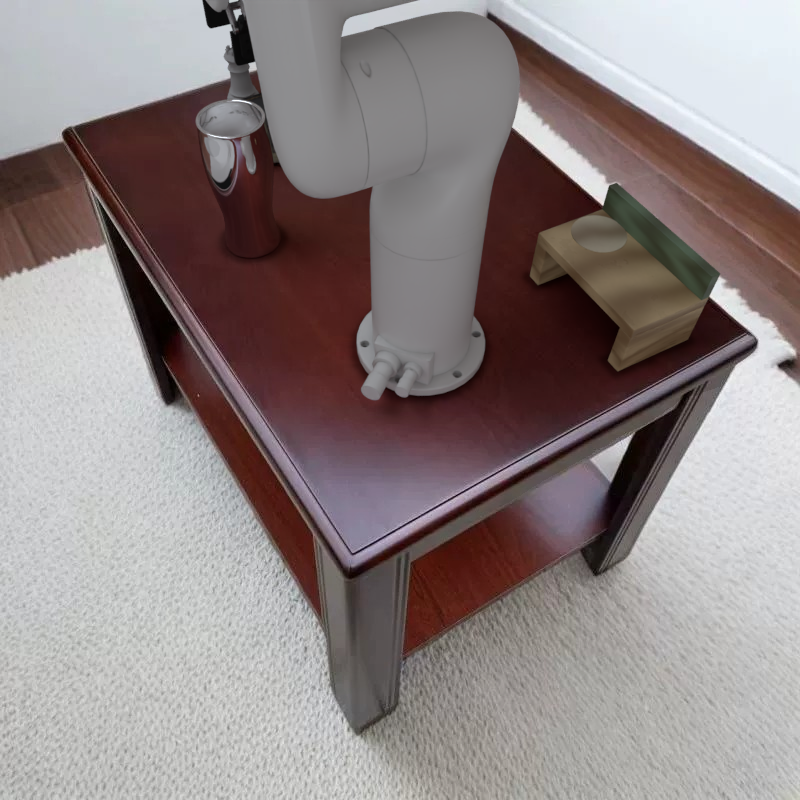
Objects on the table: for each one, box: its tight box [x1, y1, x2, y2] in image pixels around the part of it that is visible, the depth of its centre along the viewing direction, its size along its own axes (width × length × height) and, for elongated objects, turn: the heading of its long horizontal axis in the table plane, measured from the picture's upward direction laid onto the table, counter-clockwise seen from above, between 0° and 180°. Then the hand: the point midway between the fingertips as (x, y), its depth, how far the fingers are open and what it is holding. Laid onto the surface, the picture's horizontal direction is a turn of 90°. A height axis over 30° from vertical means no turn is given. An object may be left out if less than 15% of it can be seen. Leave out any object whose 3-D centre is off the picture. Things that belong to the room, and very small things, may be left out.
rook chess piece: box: [223, 43, 260, 100], centre depth 94 cm, size 4×4×8 cm
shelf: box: [529, 182, 721, 372], centre depth 72 cm, size 15×9×9 cm, turn 28°
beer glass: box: [195, 98, 281, 259], centre depth 75 cm, size 7×7×15 cm
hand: (233, 43), depth 91 cm, fingers open, 9 cm apart
